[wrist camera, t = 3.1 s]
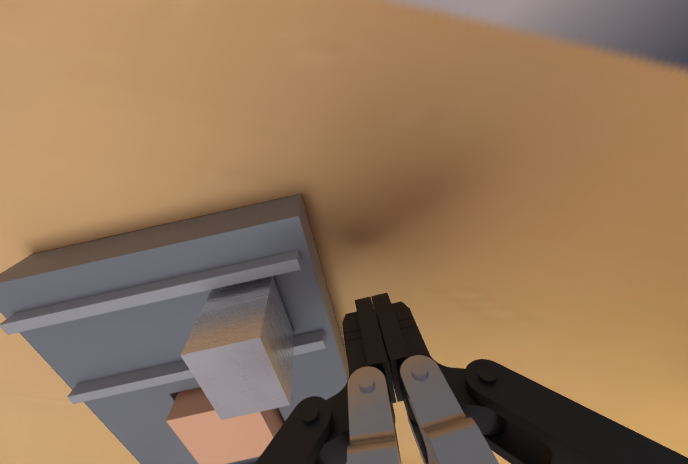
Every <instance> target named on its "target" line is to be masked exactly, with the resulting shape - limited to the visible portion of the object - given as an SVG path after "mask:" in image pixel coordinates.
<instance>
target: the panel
mask: <svg viewBox="0 0 688 464" xmlns="http://www.w3.org/2000/svg"><path fill="white" fill-rule="evenodd" d="M270 276H273V279H274V281H275V284H276V287H277V289H278V292H279V295H280V298H281V300H282V303H283V306H284V308H285V311H286V314H287V316H288V319H289V322H290V324H291V327H292V330H293V332H294V335H295V339H294V353H293V368H292V383H291V398H290V405H288V406H284V407H279V410H280V412H281V414H282V416H283V418H284V421H283V424H284V422H285V421H286V419H287V418H288V417H289V415H290V414H291V413H292V411H293V410H294V408H295V407H296V406H297V405H298V404H299V403H300V402H301V401H302V400H304V399H306V398H308V397H312V396H318V397H322V398H324V399H325V400H327V399H329V398H330V397H332V396H334V395H336V394H337V393H339V392H340V391H341V390H342V389H343V388H344V386H345V385H346V383H347V381H348V378H349V368H348V361H347V356H346V352H345V349H344V345H343V342H342V338H341V334H340V331H339V327H338V324H337V320H336V317H335V313H334V310H333V306H332V302H331V299H330V295H329V292H328V288H327V285H326V281H325V278H324V274H323V270H322V267H321V263H320V260H319V256H318V253H317V249H316V246H315V242H314V238H313V235H312V231H311V228H310V224H309V221H308V217H307V214H306V210H305V206H304V203H303V199H302V196H301V194H299V195H294V196H290V197H285V198H281V199H276V200H272V201H267V202H263V203H258V204H254V205H250V206H245V207H241V208H236V209H232V210H227V211H223V212H218V213H214V214H209V215H205V216H200V217H196V218H192V219H187V220H183V221H178V222H174V223H169V224H165V225H160V226H156V227H151V228H147V229H143V230H138V231H134V232H129V233H125V234H120V235H116V236H111V237H107V238H102V239H98V240H93V241H89V242H85V243H80V244H76V245H71V246H67V247H62V248H58V249H53V250H49V251H44V252H40V253H36V254H31V255H30V256H28V257H26V258H25V259H23V260H22V261H20V262H18V263H17V264H15V265H14V266H12V267H10V268H9V269H7V270H6V271H4V272H2V273H1V274H0V312H1V313H2V314H3V315H4V316H5V317H6V318H7V319H6V320H5V321H4V322H2V323H1V324H0V327H1V328H2V329H3V330H4V331H5V332H6V333H7V334H8V335H9V334H13V333H18V332H19V333H20V334H21V335H22V336H23V337H24V338H25V339H26V340H27V341H28V342H29V343H30V344H31V346H32V347H33V348H34V349H35V350H36V351H37V352H38V353H39V354H40V355H41V356H42V357H43V359H44V360H45V361H46V362H47V363H48V364H49V365H50V366H51V367H52V368H53V369H54V370H55V372H56V373H57V374H58V375H59V376H60V377H61V378H62V379H63V380H64V381H65V382H66V383H67V385H68V386H69V387H70V388H71V389H72V391H71V393H70V394H69V395H68V398H69V399H70V400H71V401H72V403H73V404H76V403H80V402H84V403H85V404H86V405H87V406H88V407H89V408H90V409H91V410H92V412H93V413H94V414H95V415H96V416H97V417H98V418H99V419H100V420H101V421H102V422H103V423H104V425H105V426H106V427H107V428H108V429H109V430H110V431H111V432H112V433H113V434H114V435H115V436H116V438H117V439H118V440H119V441H120V442H121V443H122V444H123V445H124V446H125V447H126V448H127V449H128V451H129V452H130V453H131V454H132V455H133V456H134V457H135V458H136V459H137V460H138V461H139V462H140V464H199V463H198V462H197V461H196V460H195V458H194V457H193V456H192V454H191V453H190V452H189V450H188V449H187V448H186V447H185V445H184V444H183V443H182V441H181V440H180V439H179V437H178V436H177V435H176V433H175V432H174V431H173V430H172V428H171V427H170V426H169V424H168V423H167V422H166V420H167V417H168V415H169V413H170V410H171V408H172V406H173V403H174V401H175V399H176V396H177V394H178V392H180V391H185V390H189V389H194V388H199V387H200V386H199V384H198V382H197V381H196V379H195V378H194V376H193V374H192V373H191V371H190V370H189V368H188V366H187V365H186V363H185V362H184V360H183V359H182V357H181V353H182V351H183V349H184V347H185V344H186V342H187V340H188V338H189V336H190V334H191V332H192V330H193V328H194V326H195V323H196V321H197V319H198V317H199V315H200V313H201V311H202V309H203V307H204V305H205V302H206V300H207V298H208V296H209V294H210V292H211V290H212V289H216V288H220V287H225V286H229V285H234V284H238V283H243V282H247V281H252V280H256V279H261V278H265V277H270ZM259 457H260V456H259ZM259 457H255V458H250V459H246V460H241V461H236V462H232V463H227V464H255V463H256V461H257V460H258V459H259ZM346 464H347V462H346Z"/></svg>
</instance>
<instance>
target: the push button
mask: <svg viewBox="0 0 688 464" xmlns="http://www.w3.org/2000/svg"><path fill="white" fill-rule="evenodd" d="M283 421H284V418H283V416H282V414H281V412H280V410H279V408H275V409H270V410H265V411H261V412H256V413H252V414H247V415H243V416H238V417H233V418H229V419H224V420H221V419H220V417H219V416H218V414H217V413H216V411H215V409H214V408H213V406H212V405H211V403H210V401H209V400H208V398H207V397H206V395H205V393H204V392H203V390H202V389H201V387H199V388H194V389H189V390H185V391H180V392H178V394H177V396H176V399H175V401H174V403H173V406H172V408H171V410H170V413H169V415H168V417H167V420H166V422H167V423H168V424H169V426H170V427H171V428H172V430H173V431H174V432H175V433H176V435H177V436H178V437H179V439H180V440H181V441H182V443H183V444H184V445H185V447H186V448H187V449H188V450H189V452H190V453H191V454H192V456H193V457H194V458H195V460H196V461H197V462H198V463H199V464H227V463H232V462H236V461H241V460H246V459H250V458H255V457H259V456H261V454H262V453H263V452H264V450H265V449H266V447H267V446H268V445H269V443H270V442H271V440H272V439H273V438H274V436H275V435H276V433H277V432H278V431H279V429H280V428H281V426H282V425H283Z"/></svg>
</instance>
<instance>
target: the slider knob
mask: <svg viewBox="0 0 688 464" xmlns="http://www.w3.org/2000/svg"><path fill="white" fill-rule="evenodd" d="M294 339H295V335H294V332H293V330H292V327H291V324H290V322H289V319H288V316H287V314H286V311H285V308H284V306H283V303H282V300H281V298H280V295H279V292H278V289H277V287H276V284H275V281H274V279H273V276H270V277H265V278H261V279H256V280H252V281H247V282H243V283H238V284H234V285H229V286H225V287H220V288H216V289H212V290H211V292H210V294H209V296H208V298H207V300H206V302H205V305H204V307H203V309H202V311H201V313H200V315H199V317H198V319H197V321H196V323H195V326H194V328H193V330H192V332H191V334H190V336H189V338H188V340H187V342H186V344H185V347H184V349H183V351H182V353H181V357H182V359H183V360H184V362H185V363H186V365H187V366H188V368H189V370H190V371H191V373H192V374H193V376H194V378H195V379H196V381H197V382H198V384H199V386H200V387H201V389H202V390H203V392H204V393H205V395H206V397H207V398H208V400H209V401H210V403H211V405H212V406H213V408H214V409H215V411H216V413H217V414H218V416H219V417H220V419H221V420H224V419H229V418H233V417H238V416H243V415H247V414H252V413H256V412H261V411H265V410H270V409H275V408H279V407H284V406H288V405H290V398H291V383H292V368H293V353H294Z"/></svg>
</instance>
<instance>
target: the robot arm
mask: <svg viewBox="0 0 688 464" xmlns="http://www.w3.org/2000/svg"><path fill="white" fill-rule="evenodd" d="M372 302H373V304H372ZM355 304H356V309H357V312H353V313H349V314H346V315H345V318H344V320H343V323H342V324H343V332H344V339H345V346H346V354H347V361H348V368H349V378H348V381H347V383H346V385H345V386H344V388H343V389H342V390H341V391H340V392H339V393H337V394H336V395H334V396H332V397H330V398H329V399H327V400H325V399H324V398H322V397H318V396H312V397H308V398H306V399H304V400H302V401H301V402H300V403H299V404H298V405H297V406H296V407H295V408H294V410H293V411H292V413H291V414H290V415H289V417H288V418H287V419H286V421H285V422H284V424H283V425H282V426H281V428H280V429H279V431H278V432H277V433H276V435H275V436H274V438H273V439H272V440H271V442H270V443H269V445H268V446H267V447H266V449H265V450H264V452H263V453H262V454H261V456H260V457H259V459H258V460H257V461H256V463H255V464H346V462H347V464H402V463H401V457H400V451H399V445H398V440H397V434H396V428H395V414H394V409H393V404H392V403H395V402H396V398H395V393H396V397H397V400H398V402H399V401H404V404H405V407H406V411H407V416H408V421H409V424H410V427H411V429H412V432H413V435H414V438H415V440H416V443H417V446H418V448H419V451H420V454H421V456H422V459H423V462H424V464H499V463H498V461H497V459H496V458H495V456H494V454H493V452H492V451H494V452H495V453H497V454H498V455H499V456H501V457H502V458H504V459H505V460H507V461H508V462H510V463H511V464H688V458H687V457H685V456H683V455H681V454H679V453H677V452H675V451H673V450H671V449H669V448H667V447H665V446H663V445H661V444H659V443H657V442H655V441H653V440H651V439H649V438H647V437H645V436H643V435H641V434H639V433H637V432H635V431H633V430H631V429H629V428H627V427H625V426H623V425H621V424H619V423H617V422H615V421H613V420H611V419H609V418H607V417H605V416H602V415H600V414H598V413H596V412H594V411H592V410H590V409H588V408H586V407H584V406H582V405H580V404H578V403H576V402H574V401H572V400H570V399H568V398H566V397H564V396H562V395H560V394H558V393H556V392H554V391H552V390H550V389H548V388H546V387H544V386H542V385H540V384H538V383H536V382H534V381H532V380H530V379H528V378H526V377H524V376H522V375H520V374H518V373H516V372H514V371H512V370H510V369H508V368H506V367H504V366H502V365H500V364H498V363H496V362H494V361H491V360H486V359H479V360H475V361H473V362H471V363H470V364H469V365H468V366H467V367H466V369H461V368H450V367H446V366H443V365H441V364H439V363H437V362H436V361H435V360H434V359H433V358H432V357H431V356H430V354H429V352H428V350H427V347H426V345H425V343H424V341H423V338H422V336H421V334H420V331H419V329H418V327H417V325H416V322H415V320H414V318H413V315H412V313H411V311H410V308H408V307H407V306H406V305H405V304H404V303H403V302H397V303H393V304H391V302H390V299H389V296H388V294H387V293H384V294H379V295H375V296H372V301H371V297H366V298H362V299H357V300H355ZM373 307H374V308H373ZM392 382H393V383H392ZM393 386H394V388H393ZM394 389H395V393H394ZM491 450H492V451H491Z"/></svg>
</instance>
